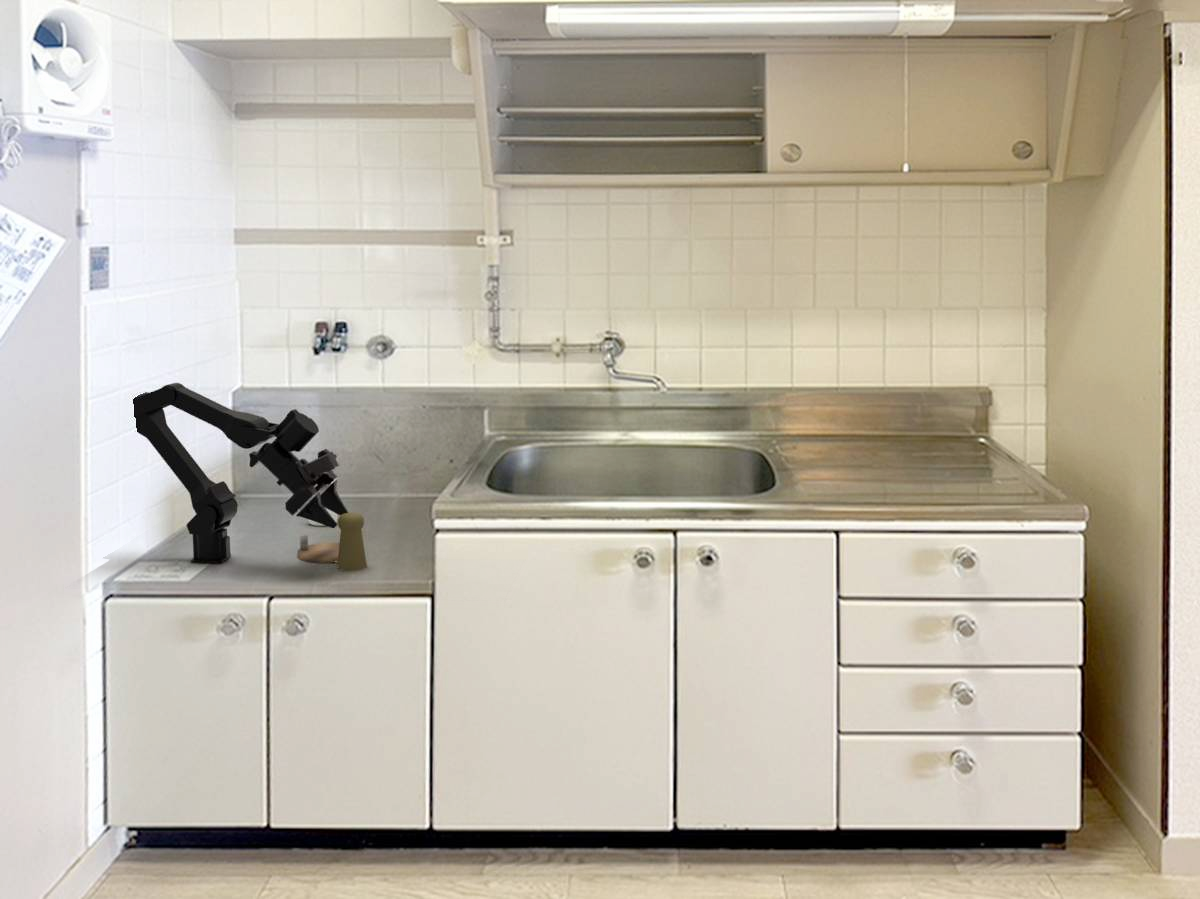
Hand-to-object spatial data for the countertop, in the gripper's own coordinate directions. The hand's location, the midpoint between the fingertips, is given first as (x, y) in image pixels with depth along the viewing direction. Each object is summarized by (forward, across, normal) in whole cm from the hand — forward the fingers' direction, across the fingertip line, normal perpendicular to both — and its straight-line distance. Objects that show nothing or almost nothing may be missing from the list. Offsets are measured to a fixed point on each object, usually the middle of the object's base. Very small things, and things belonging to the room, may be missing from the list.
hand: (341, 521), depth 288 cm
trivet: (+3, +9, +10) cm, 14 cm away
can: (-4, +36, +17) cm, 40 cm away
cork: (+8, 0, +6) cm, 10 cm away
